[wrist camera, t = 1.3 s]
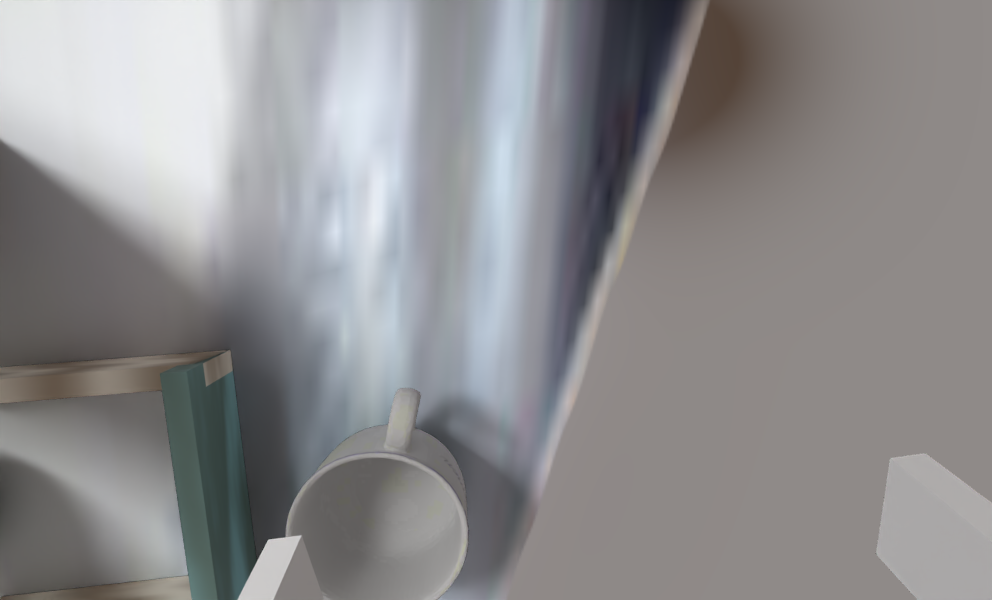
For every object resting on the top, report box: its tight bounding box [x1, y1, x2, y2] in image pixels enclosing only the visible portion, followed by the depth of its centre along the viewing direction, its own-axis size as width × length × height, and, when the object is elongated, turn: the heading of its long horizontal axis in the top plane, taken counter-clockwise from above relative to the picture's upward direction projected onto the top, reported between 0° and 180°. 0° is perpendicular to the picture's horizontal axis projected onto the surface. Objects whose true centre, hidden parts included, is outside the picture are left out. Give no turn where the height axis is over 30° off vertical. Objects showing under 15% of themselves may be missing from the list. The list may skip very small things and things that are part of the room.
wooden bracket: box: [0, 350, 257, 600], centre depth 33 cm, size 18×18×6 cm
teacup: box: [286, 388, 469, 600], centre depth 33 cm, size 14×11×8 cm
